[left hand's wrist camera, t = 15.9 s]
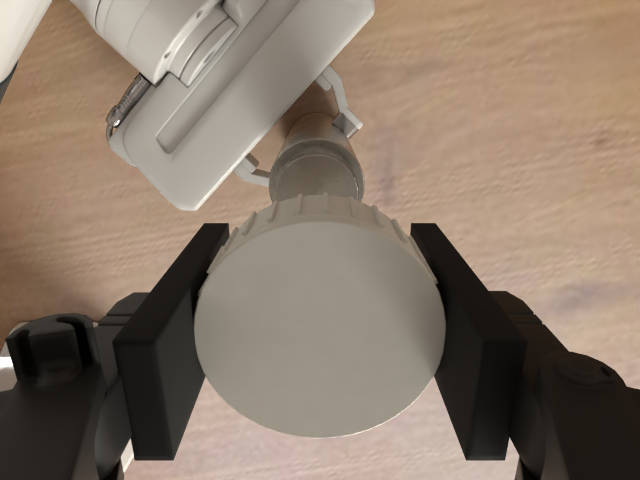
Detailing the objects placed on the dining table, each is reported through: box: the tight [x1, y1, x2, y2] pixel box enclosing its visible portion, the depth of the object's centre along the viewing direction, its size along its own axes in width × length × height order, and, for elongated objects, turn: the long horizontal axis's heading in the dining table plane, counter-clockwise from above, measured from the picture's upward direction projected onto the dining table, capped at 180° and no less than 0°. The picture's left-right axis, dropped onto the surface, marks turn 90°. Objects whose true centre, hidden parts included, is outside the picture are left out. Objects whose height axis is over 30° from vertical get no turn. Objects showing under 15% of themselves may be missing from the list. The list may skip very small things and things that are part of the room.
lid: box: [194, 193, 446, 438], centre depth 11 cm, size 6×6×2 cm
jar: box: [269, 112, 364, 203], centre depth 30 cm, size 5×5×18 cm
